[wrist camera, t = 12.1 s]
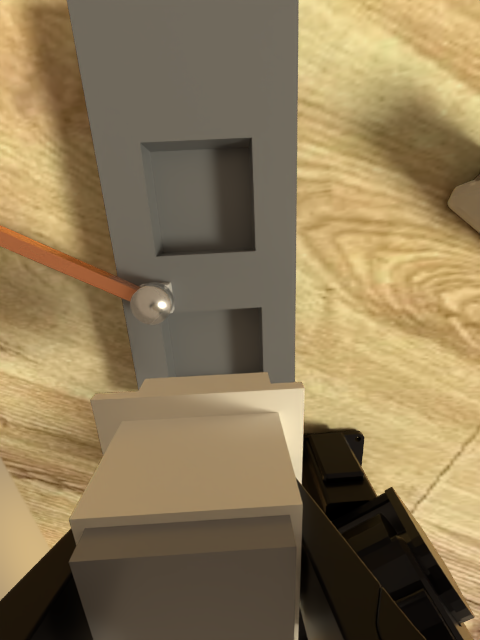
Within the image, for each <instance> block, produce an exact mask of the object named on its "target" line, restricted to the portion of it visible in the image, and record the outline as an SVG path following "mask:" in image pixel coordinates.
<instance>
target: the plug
mask: <svg viewBox="0 0 480 640" xmlns="http://www.w3.org/2000/svg"><path fill="white" fill-rule="evenodd" d="M304 394H305V388H304V386H303V384H302V382H291V383H273V384H271V383H270V379H269V376H268V372H260V373H242V374H224V375H205V376H187V377H169V378H150V379H145V380H144V382H143V384H142V385H141V387H140V389H139V391H129V392H111V393H96V394H95V395H94V396H93V398H92V399H91V400H90V401H91V405H92V409H93V414H94V418H95V423H96V427H97V431H98V436H99V440H100V444H101V449H102V453H103V457H102V459H101V461H100V463H99V465H98V467H97V468H96V470H95V472H94V474H93V476H92V478H91V480H90V481H89V483H88V485H87V487H86V489H85V491H84V492H83V494H82V496H81V498H80V500H79V502H78V504H77V505H76V507H75V509H74V511H73V513H72V515H71V517H70V518H69V522H70V525H71V529H72V532H73V535H74V539H75V542H76V545H77V546H76V548H75V550H74V552H73V554H72V556H71V558H70V560H69V564H70V568H71V571H72V574H73V577H74V580H75V583H76V586H77V590H78V593H79V596H80V599H81V602H82V605H83V608H84V612H85V615H86V618H87V621H88V624H89V627H90V631H91V634H92V637H93V640H298V631H299V601H300V572H301V542H302V513H303V503H302V500H301V496H300V492H299V488H298V484H297V481H296V478H297V479H298V481H299V482H300V483H301V484H302V457H303V426H304Z"/></svg>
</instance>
